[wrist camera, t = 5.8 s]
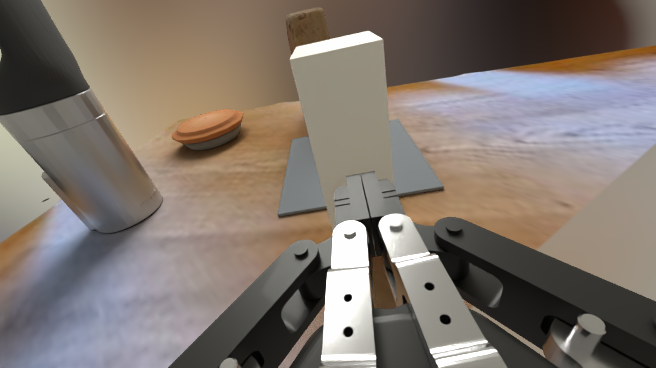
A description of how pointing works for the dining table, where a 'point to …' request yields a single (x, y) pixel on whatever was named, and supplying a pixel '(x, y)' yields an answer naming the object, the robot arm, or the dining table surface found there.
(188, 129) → the pie
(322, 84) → the tall cream block
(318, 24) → the tan textured post
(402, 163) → the mat
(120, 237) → the dining table surface
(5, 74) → the robot arm
